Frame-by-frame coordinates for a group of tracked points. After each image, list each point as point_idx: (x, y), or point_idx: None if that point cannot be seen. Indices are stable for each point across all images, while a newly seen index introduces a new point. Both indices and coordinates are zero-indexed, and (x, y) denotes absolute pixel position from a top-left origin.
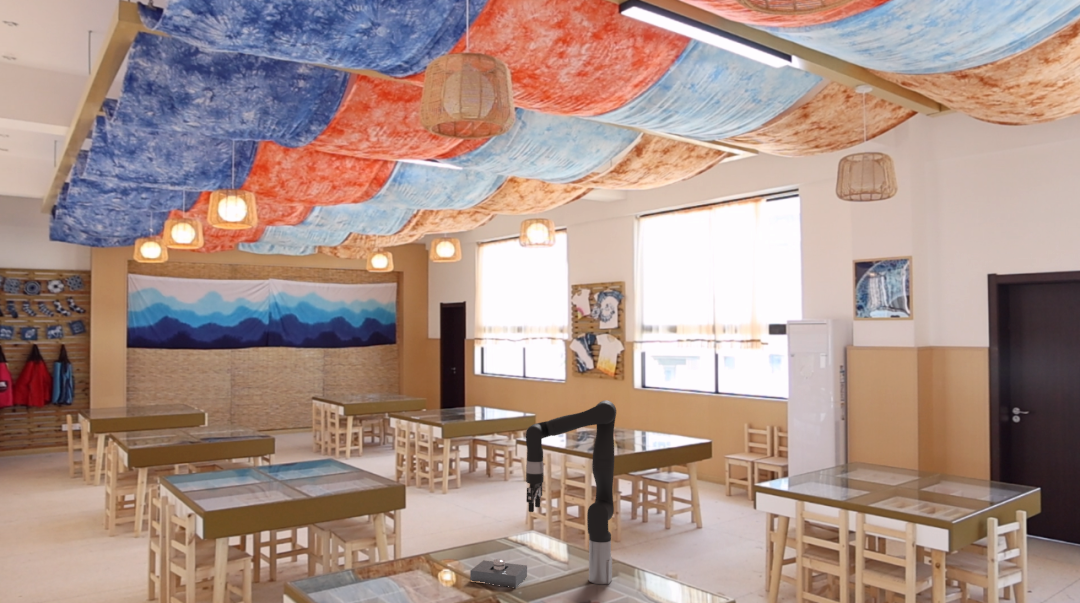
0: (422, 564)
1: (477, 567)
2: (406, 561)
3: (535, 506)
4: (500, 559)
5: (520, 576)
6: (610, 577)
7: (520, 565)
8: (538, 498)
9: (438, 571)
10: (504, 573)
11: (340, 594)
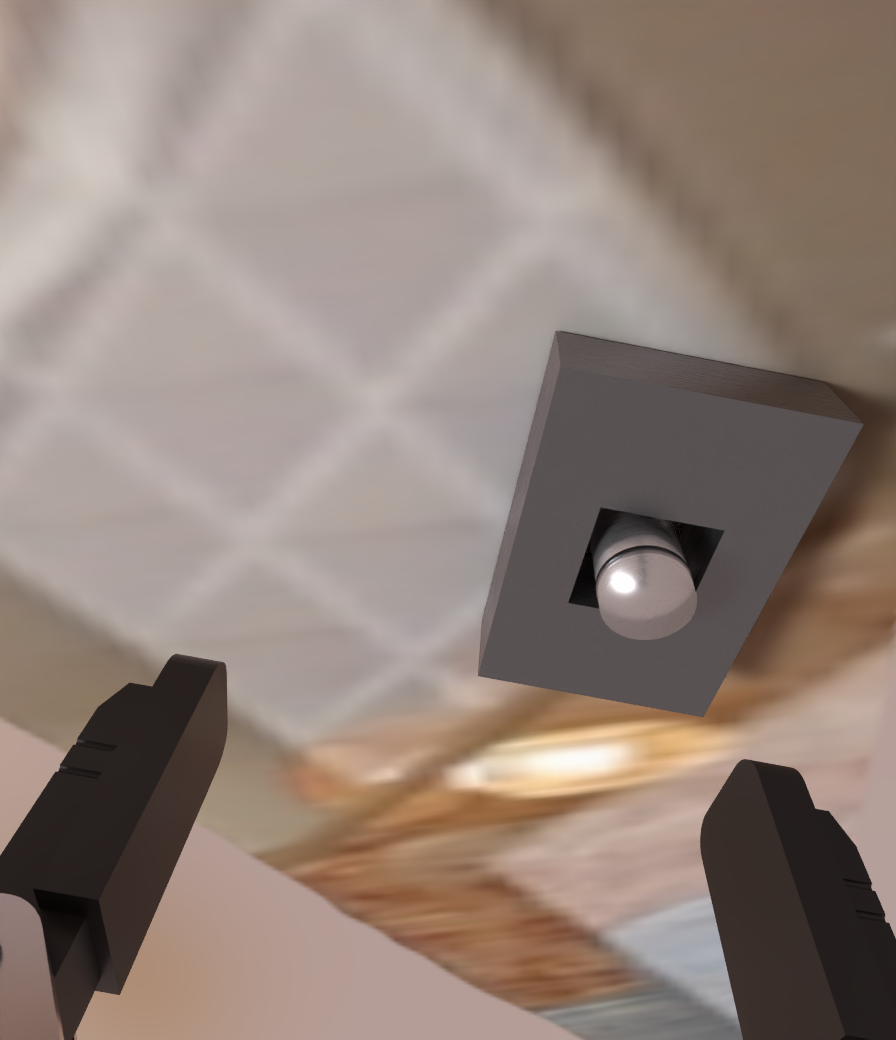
0: (413, 859)
1: (640, 689)
2: (388, 906)
3: (220, 749)
4: (615, 599)
5: (729, 383)
6: None
7: (567, 422)
8: (81, 939)
9: (503, 799)
10: (786, 516)
11: None
